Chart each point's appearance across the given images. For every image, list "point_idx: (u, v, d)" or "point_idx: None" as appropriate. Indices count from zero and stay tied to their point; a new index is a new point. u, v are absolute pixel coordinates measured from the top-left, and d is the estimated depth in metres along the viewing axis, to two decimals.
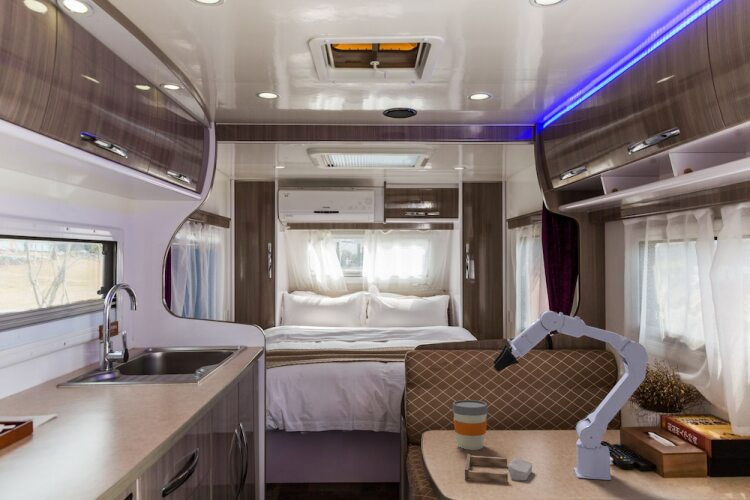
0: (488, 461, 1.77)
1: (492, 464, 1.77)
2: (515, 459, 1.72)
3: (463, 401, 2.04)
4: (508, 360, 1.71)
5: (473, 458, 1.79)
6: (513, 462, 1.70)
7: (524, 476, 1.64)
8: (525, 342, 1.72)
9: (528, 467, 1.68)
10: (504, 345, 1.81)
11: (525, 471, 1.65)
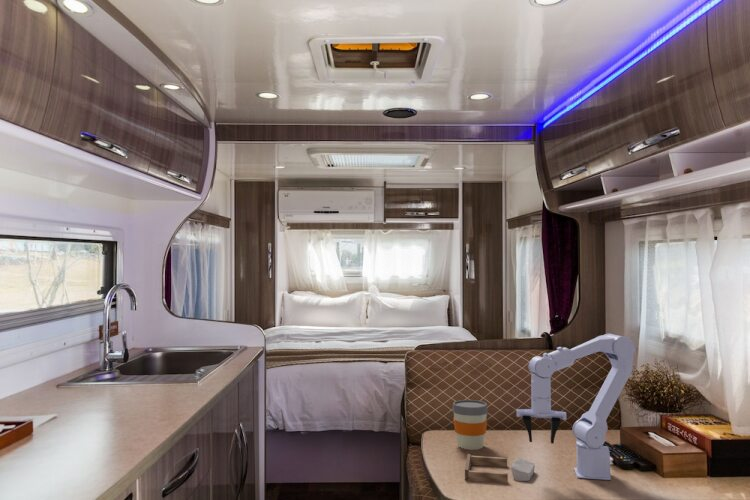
0: (488, 461, 1.77)
1: (492, 464, 1.77)
2: (518, 459, 1.72)
3: (463, 401, 2.04)
4: None
5: (473, 458, 1.79)
6: (516, 462, 1.70)
7: (527, 477, 1.64)
8: (550, 401, 1.68)
9: (531, 467, 1.68)
10: (526, 421, 1.67)
11: (528, 472, 1.65)
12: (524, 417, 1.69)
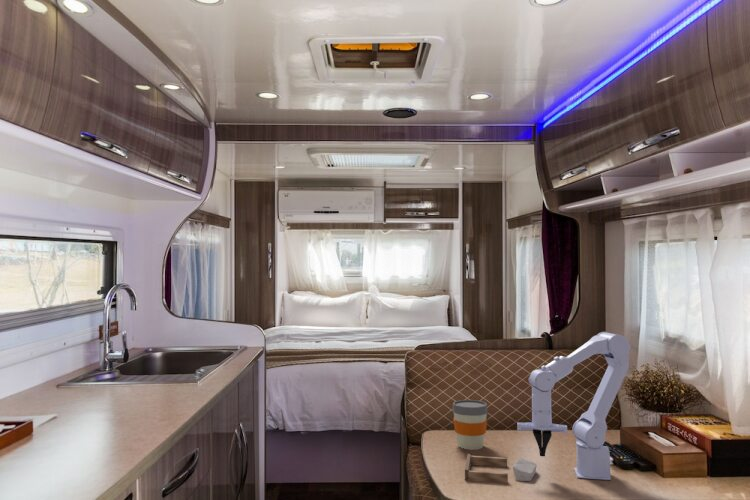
0: (488, 461, 1.77)
1: (492, 464, 1.77)
2: (519, 460, 1.72)
3: (463, 401, 2.04)
4: None
5: (473, 458, 1.79)
6: (517, 463, 1.70)
7: (529, 477, 1.64)
8: (551, 415, 1.68)
9: (532, 468, 1.68)
10: (536, 436, 1.66)
11: (530, 472, 1.65)
12: (534, 431, 1.68)
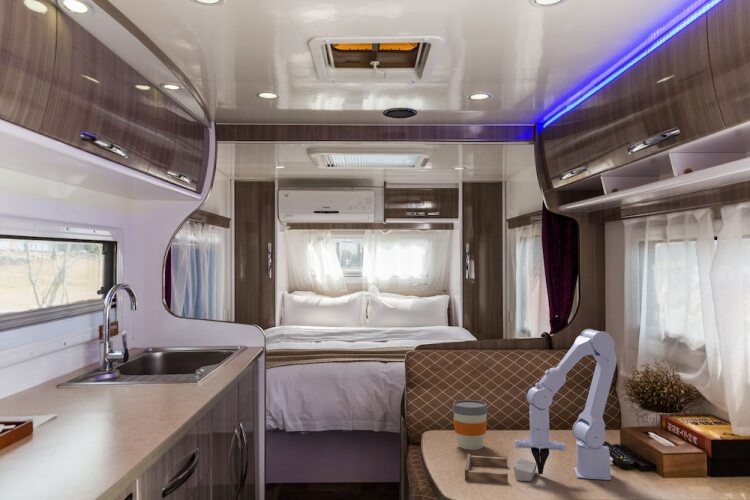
0: (488, 461, 1.77)
1: (492, 464, 1.77)
2: (519, 459, 1.72)
3: (463, 401, 2.04)
4: None
5: (473, 458, 1.79)
6: (517, 462, 1.70)
7: (529, 476, 1.64)
8: None
9: (533, 467, 1.68)
10: (534, 454, 1.66)
11: (530, 471, 1.65)
12: (532, 449, 1.68)
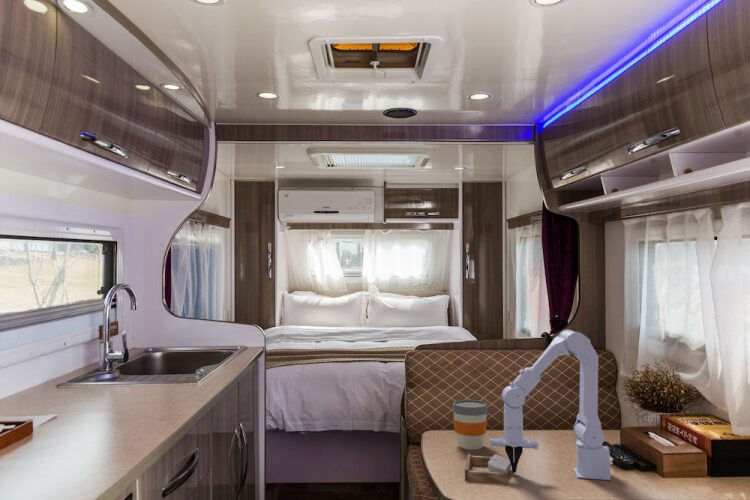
0: (488, 461, 1.77)
1: None
2: (495, 456, 1.74)
3: (463, 401, 2.04)
4: None
5: (473, 458, 1.79)
6: (492, 459, 1.72)
7: None
8: (522, 431, 1.69)
9: (507, 464, 1.70)
10: (508, 452, 1.68)
11: (504, 468, 1.67)
12: (506, 447, 1.69)
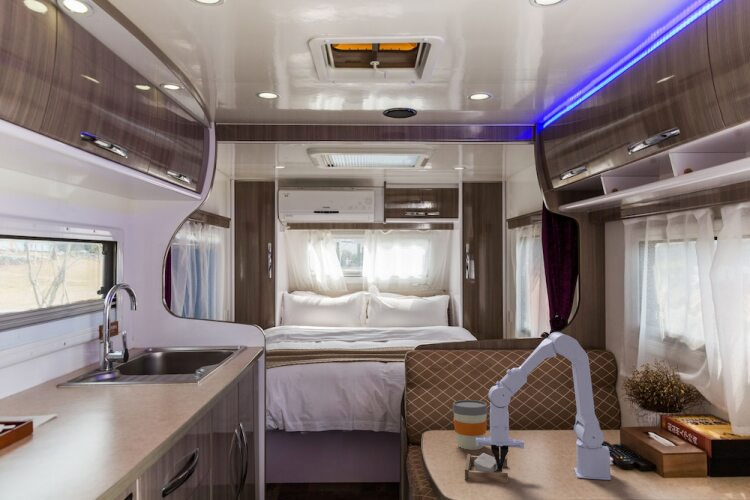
0: None
1: None
2: (482, 455, 1.76)
3: (463, 401, 2.04)
4: None
5: (473, 458, 1.79)
6: (480, 458, 1.74)
7: (488, 471, 1.68)
8: (508, 430, 1.70)
9: (494, 463, 1.72)
10: (493, 451, 1.68)
11: (490, 466, 1.69)
12: (492, 446, 1.70)
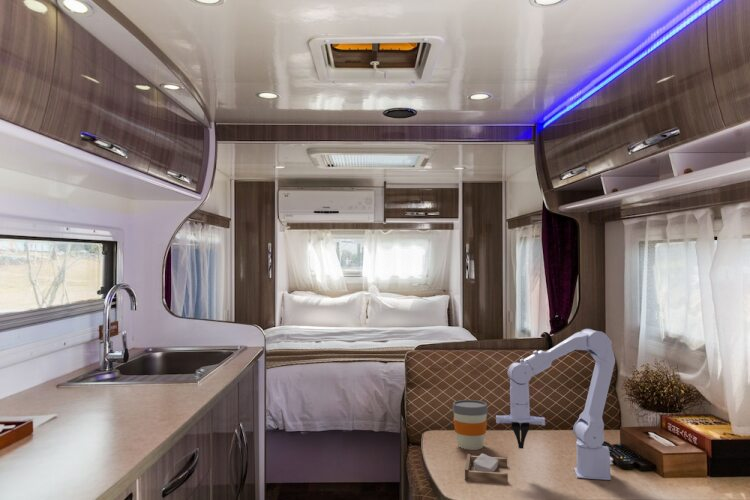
0: None
1: None
2: (481, 455, 1.76)
3: (463, 401, 2.04)
4: None
5: (473, 458, 1.79)
6: (479, 458, 1.74)
7: None
8: None
9: (493, 463, 1.72)
10: (514, 428, 1.68)
11: (489, 467, 1.69)
12: (513, 424, 1.69)
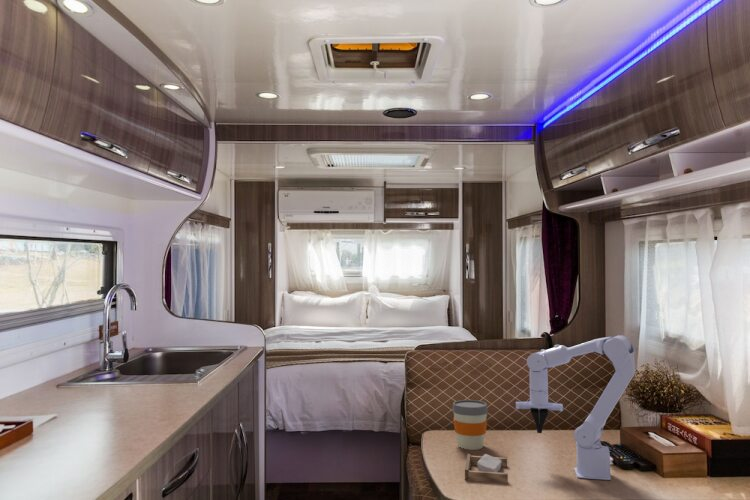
0: None
1: None
2: (485, 456, 1.76)
3: (463, 401, 2.04)
4: None
5: (473, 458, 1.79)
6: (482, 459, 1.74)
7: None
8: None
9: (497, 464, 1.72)
10: (533, 414, 1.76)
11: (493, 467, 1.69)
12: (532, 409, 1.78)
